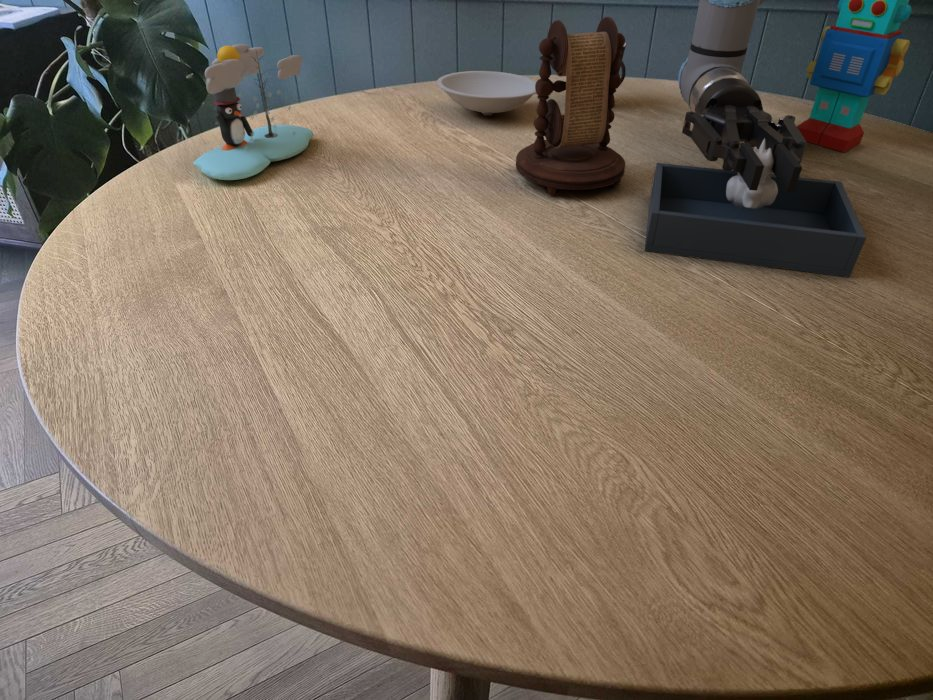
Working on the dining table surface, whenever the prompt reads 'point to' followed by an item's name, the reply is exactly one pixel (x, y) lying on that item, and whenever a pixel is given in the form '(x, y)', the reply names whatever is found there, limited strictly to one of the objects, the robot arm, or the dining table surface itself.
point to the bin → (753, 222)
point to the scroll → (576, 111)
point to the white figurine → (766, 188)
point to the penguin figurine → (254, 146)
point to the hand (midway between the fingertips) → (775, 178)
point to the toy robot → (854, 69)
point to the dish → (487, 90)
